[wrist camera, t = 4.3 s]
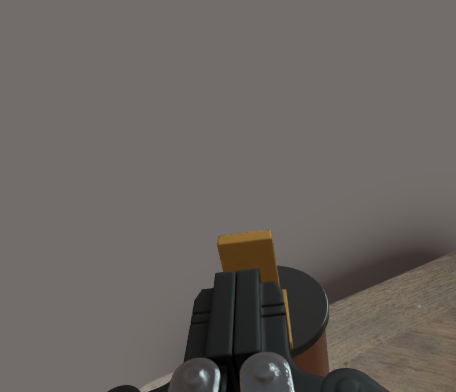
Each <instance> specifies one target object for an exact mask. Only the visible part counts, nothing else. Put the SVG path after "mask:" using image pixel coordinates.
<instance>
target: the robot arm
mask: <svg viewBox="0 0 456 392" xmlns="http://www.w3.org/2000/svg"><path fill="white" fill-rule="evenodd" d="M108 392H140V391H139V390H138V389H137V388H136V387H134V386H130V385H123V386H118V387H115V388H113V389H111V390H110V391H108ZM149 392H389V391H388V390H386V389H385V388H384V387H382V386H381V385H380V384H378V383H377V382H376V381H374V380H373V379H372V378H370V377H369V376H368V375H366V374H365V373H363V372H361V371H359V370H356V369H351V368H341V369H337V370H334V371H332V372H330V373H329V374H327V376H326V377H322V376H318V375H313V374H310V373H307V372H305V371H303V370H301V369H300V368H299V367H298V366H296V364H295V363H294V362H293V360H292V356H291V347H290V338H289V329H288V321H287V315H286V308H285V302H284V296H283V291H282V289H281V288H280V287H279V285H278V284H277V283H276V281H272V282H263V283H262V281H261V276H260V271H259V268H253V269H244V270H238V272H237V271H228V272H220V273H216V274H215V280H214V288H211V289H202V290H201V292H200V293H199V295H198V296H197V298H196V299H195V301H194V306H193V315H192V318H191V325H190V329H189V335H188V340H187V346H186V352H185V358H184V363H183V364H181V365H180V366H179V367H178V368H177V369H176V370H175V372H174V374H173V375H172V378H171V381H170V382H169V383H167V384H165V385H163V386H161V387H159V388H156V389H154V390H151V391H149Z"/></svg>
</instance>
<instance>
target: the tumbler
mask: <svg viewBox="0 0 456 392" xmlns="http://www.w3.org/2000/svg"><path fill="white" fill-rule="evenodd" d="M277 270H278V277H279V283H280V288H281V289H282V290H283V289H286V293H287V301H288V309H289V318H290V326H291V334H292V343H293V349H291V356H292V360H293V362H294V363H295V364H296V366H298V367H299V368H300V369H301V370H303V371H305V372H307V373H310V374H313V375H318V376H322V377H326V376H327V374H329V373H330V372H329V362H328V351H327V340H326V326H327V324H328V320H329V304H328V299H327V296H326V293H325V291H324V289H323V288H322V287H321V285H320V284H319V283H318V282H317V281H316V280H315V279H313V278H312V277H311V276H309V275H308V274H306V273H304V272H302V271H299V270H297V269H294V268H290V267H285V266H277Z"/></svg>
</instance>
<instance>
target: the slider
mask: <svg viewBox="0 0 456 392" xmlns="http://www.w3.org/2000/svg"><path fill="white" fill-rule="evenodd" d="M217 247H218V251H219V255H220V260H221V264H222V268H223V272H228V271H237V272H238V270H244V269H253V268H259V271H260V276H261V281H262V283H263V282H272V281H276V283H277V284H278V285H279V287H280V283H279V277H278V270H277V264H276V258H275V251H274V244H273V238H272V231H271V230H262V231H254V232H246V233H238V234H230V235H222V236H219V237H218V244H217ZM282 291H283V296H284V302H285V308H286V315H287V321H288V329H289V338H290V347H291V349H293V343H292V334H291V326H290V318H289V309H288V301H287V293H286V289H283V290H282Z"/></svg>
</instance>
